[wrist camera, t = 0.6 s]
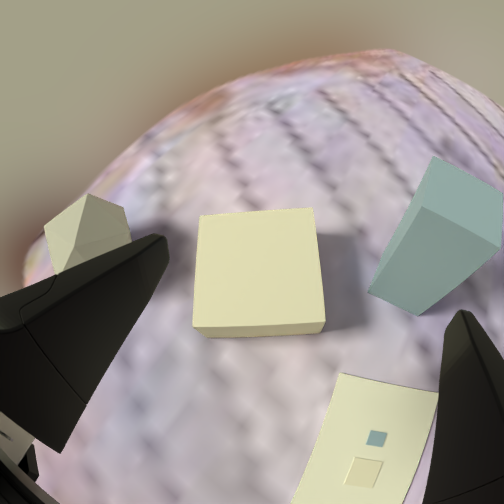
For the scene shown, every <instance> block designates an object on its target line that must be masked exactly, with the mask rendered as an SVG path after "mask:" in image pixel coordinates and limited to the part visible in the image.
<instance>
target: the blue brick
mask: <svg viewBox="0 0 504 504" xmlns="http://www.w3.org/2000/svg"><path fill="white" fill-rule="evenodd" d="M502 219H503V193H501V192H500V191H498V190H496V189H495V188H493V187H491V186H490V185H488V184H486V183H484V182H483V181H481V180H479V179H477V178H475V177H474V176H472V175H470V174H468V173H466V172H464V171H463V170H461V169H459V168H457V167H455V166H453V165H451V164H449V163H447V162H445V161H443V160H441V159H439V158H437V157H435V156H433V157H432V159H431V161H430V164H429V166H428V168H427V170H426V172H425V174H424V176H423V179H422V181H421V183H420V185H419V187H418V189H417V191H416V193H415V195H414V197H413V199H412V201H411V203H410V205H409V207H408V209H407V211H406V213H405V215H404V216H403V218H402V220H401V222H400V224H399V226H398V228H397V229H396V231H395V233H394V235H393V237H392V239H391V240H390V242H389V244H388V246H387V247H386V249H385V251H384V253H383V255H382V257H381V260H380V263H379V265H378V268H377V270H376V273H375V275H374V278H373V280H372V283H371V285H370V287H369V290H368V293H370V294H372V295H374V296H376V297H378V298H381V299H383V300H385V301H387V302H389V303H391V304H393V305H395V306H397V307H399V308H402V309H404V310H406V311H408V312H410V313H412V314H414V315H416V316H419V315H420V314H421V313H423V312H424V311H426V310H427V309H428V308H430V307H431V306H432V305H434V304H435V303H436V302H438V301H439V300H440V299H442V298H443V297H444V296H446V295H447V294H448V293H449V292H451V291H452V290H453V289H454V288H456V287H457V286H458V285H459V284H461V283H462V282H463V281H464V280H465V279H467V278H468V277H469V276H470V275H471V274H473V273H474V272H475V271H476V270H477V269H478V268H480V267H481V266H482V265H483V264H484V263H485V262H486V261H488V260H489V259H490V258H491V257H492V256H493V255H494V254H495V253H496V252H497V251H498V250H500V249H501V237H502Z"/></svg>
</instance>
